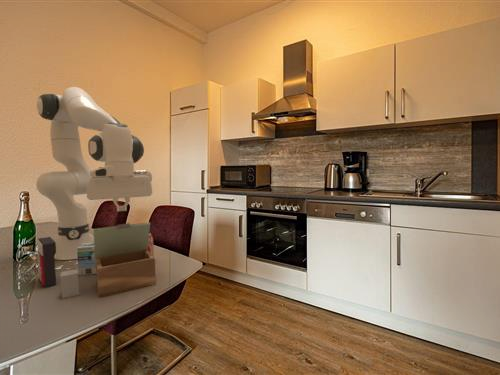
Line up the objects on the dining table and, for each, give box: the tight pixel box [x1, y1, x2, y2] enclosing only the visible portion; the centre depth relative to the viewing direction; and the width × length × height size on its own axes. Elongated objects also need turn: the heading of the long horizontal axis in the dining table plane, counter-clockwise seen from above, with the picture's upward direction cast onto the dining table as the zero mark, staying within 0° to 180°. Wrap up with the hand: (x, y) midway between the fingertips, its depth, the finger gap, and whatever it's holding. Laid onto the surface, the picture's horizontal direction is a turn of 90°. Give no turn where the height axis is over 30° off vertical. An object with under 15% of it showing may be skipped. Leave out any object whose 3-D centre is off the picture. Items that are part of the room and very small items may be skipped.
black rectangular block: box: [36, 236, 57, 288], centre depth 95 cm, size 11×4×15 cm, turn 45°
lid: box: [93, 222, 151, 258], centre depth 94 cm, size 13×17×2 cm
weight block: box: [59, 268, 80, 299], centre depth 86 cm, size 4×4×7 cm
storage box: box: [95, 250, 157, 298], centre depth 93 cm, size 12×17×9 cm
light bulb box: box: [77, 241, 96, 276], centre depth 105 cm, size 11×7×11 cm, turn 105°
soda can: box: [148, 232, 155, 258], centre depth 114 cm, size 7×7×12 cm
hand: (121, 211), depth 93 cm, fingers closed
